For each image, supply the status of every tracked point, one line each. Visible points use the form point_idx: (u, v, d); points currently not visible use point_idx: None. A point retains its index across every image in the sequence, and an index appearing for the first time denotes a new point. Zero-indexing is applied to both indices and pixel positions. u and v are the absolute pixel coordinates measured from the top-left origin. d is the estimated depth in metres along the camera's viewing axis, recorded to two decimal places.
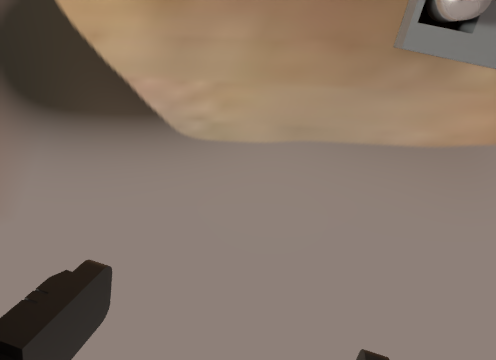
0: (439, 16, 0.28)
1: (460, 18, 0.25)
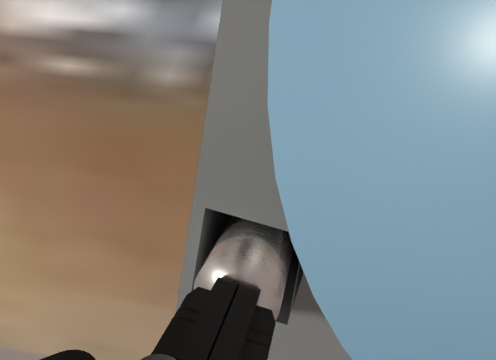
0: None
1: None
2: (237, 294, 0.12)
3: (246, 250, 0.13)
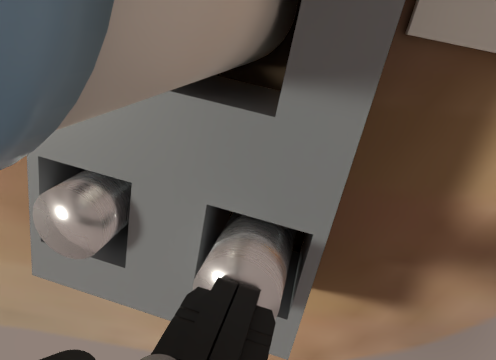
0: None
1: (68, 256, 0.15)
2: (237, 294, 0.12)
3: (76, 183, 0.15)
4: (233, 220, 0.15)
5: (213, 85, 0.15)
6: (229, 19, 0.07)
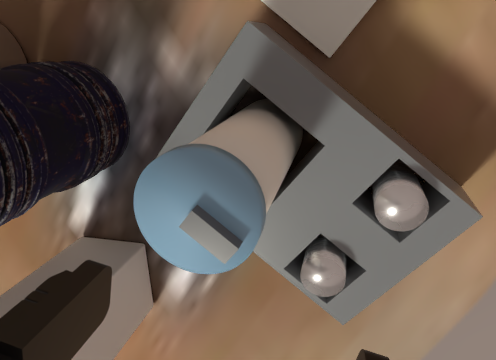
0: None
1: (339, 290, 0.26)
2: None
3: (305, 259, 0.26)
4: (372, 191, 0.26)
5: (299, 166, 0.27)
6: (268, 146, 0.20)
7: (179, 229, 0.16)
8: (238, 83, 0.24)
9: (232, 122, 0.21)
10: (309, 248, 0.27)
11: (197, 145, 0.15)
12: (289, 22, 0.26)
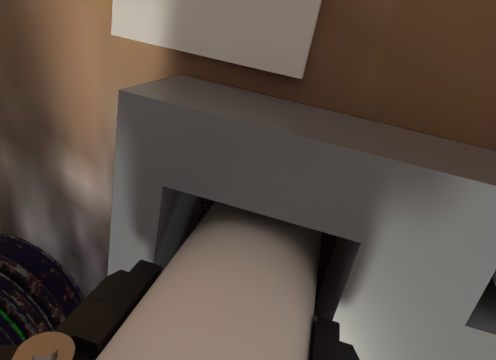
0: None
1: None
2: (318, 329, 0.11)
3: None
4: None
5: (334, 272, 0.15)
6: (233, 344, 0.08)
7: None
8: (159, 197, 0.13)
9: (149, 303, 0.09)
10: None
11: None
12: (212, 55, 0.15)
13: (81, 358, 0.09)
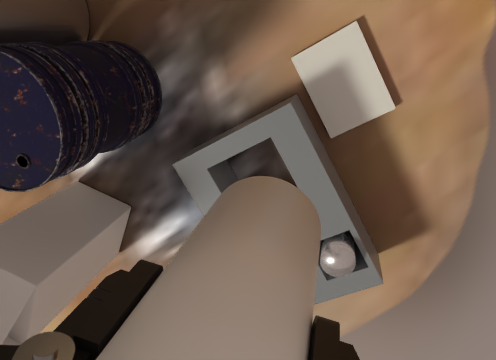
0: None
1: None
2: (318, 329, 0.11)
3: None
4: None
5: None
6: (232, 346, 0.08)
7: None
8: (265, 138, 0.32)
9: (148, 304, 0.09)
10: None
11: None
12: (314, 102, 0.34)
13: (81, 358, 0.09)
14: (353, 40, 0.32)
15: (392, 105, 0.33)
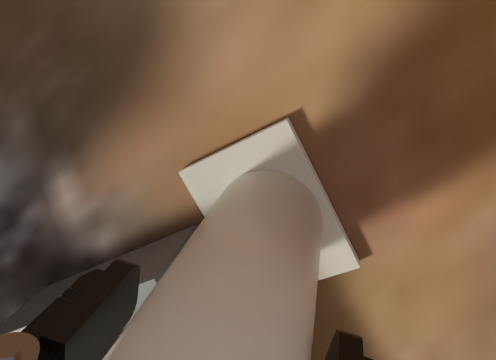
0: None
1: None
2: (340, 344, 0.10)
3: None
4: None
5: None
6: (245, 322, 0.09)
7: None
8: None
9: (165, 287, 0.10)
10: None
11: None
12: None
13: (47, 359, 0.09)
14: (282, 152, 0.17)
15: (354, 262, 0.18)
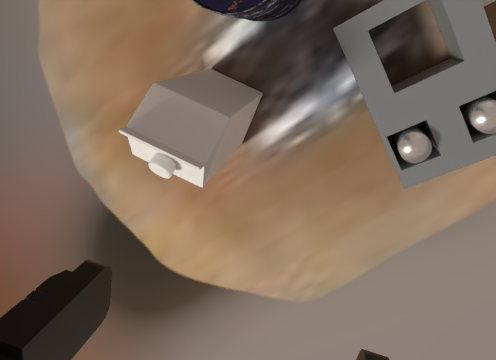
0: None
1: (421, 160, 0.38)
2: None
3: (407, 134, 0.38)
4: (465, 107, 0.38)
5: (426, 73, 0.38)
6: None
7: None
8: None
9: None
10: (407, 130, 0.39)
11: None
12: None
13: None
14: None
15: None
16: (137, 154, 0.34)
